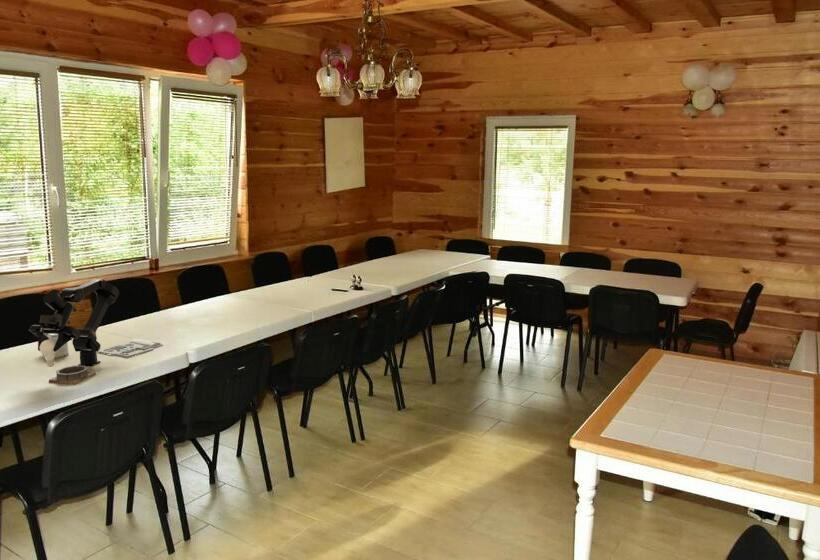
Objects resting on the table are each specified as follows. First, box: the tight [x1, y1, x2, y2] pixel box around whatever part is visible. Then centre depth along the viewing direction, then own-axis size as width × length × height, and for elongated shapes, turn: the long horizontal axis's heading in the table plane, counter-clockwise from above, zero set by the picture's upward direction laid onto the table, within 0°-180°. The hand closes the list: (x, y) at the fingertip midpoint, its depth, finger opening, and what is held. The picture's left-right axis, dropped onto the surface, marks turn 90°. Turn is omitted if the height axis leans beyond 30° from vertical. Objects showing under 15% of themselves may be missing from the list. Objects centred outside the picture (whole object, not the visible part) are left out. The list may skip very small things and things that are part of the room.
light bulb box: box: [47, 334, 70, 359], centre depth 292 cm, size 11×7×11 cm, turn 47°
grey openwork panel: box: [96, 338, 164, 359], centre depth 299 cm, size 23×3×20 cm
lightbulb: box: [39, 340, 57, 368], centre depth 253 cm, size 6×6×11 cm
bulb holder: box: [48, 364, 97, 385], centre depth 260 cm, size 12×12×4 cm
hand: (46, 350), depth 251 cm, fingers closed on lightbulb, 6 cm apart
